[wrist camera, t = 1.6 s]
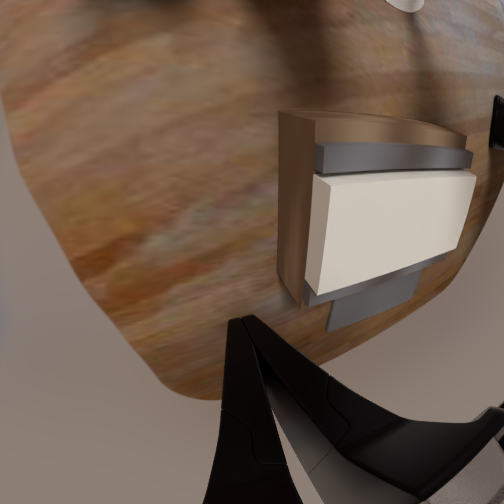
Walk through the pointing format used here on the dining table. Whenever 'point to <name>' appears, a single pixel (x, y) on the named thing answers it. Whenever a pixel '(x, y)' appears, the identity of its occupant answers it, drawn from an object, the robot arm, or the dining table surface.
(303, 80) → the dining table surface
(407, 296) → the mat
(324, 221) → the cover plate
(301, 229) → the lid box
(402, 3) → the champagne flute
